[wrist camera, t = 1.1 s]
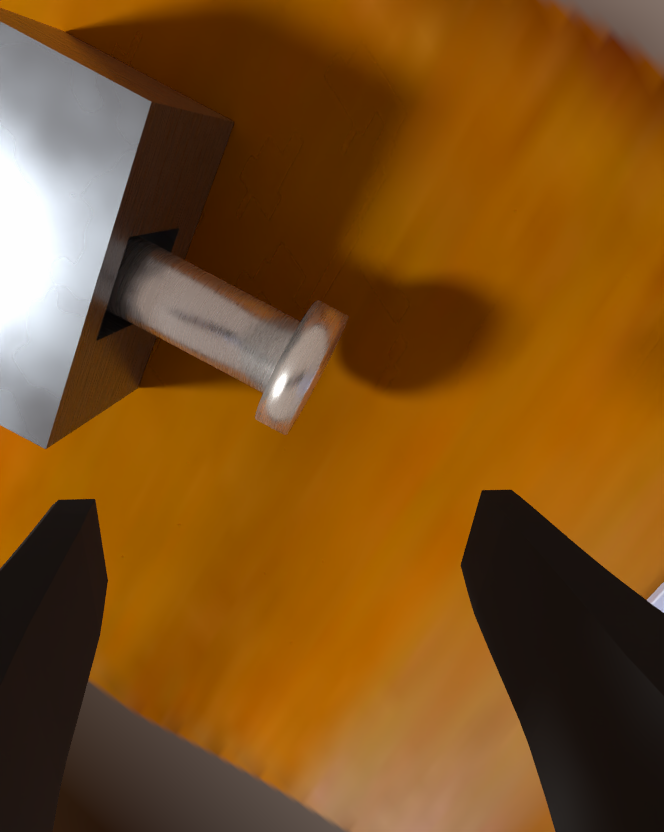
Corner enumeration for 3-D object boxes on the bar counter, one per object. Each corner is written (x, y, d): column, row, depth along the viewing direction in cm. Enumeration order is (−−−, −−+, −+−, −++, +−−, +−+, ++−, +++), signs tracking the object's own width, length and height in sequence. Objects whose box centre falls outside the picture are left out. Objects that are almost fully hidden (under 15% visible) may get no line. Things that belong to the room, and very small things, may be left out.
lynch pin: (357, 304, 19) (333, 334, 16) (305, 407, 21) (272, 456, 17) (76, 154, 19) (-13, 150, 16) (46, 270, 21) (-42, 289, 17)
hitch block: (234, 122, 19) (151, 102, 14) (137, 388, 23) (45, 449, 18) (63, 31, 19) (-84, -24, 14) (-4, 313, 23) (-136, 352, 18)
